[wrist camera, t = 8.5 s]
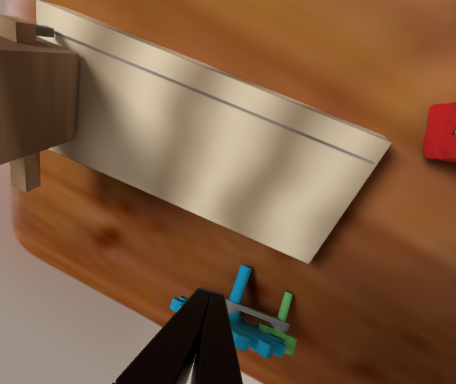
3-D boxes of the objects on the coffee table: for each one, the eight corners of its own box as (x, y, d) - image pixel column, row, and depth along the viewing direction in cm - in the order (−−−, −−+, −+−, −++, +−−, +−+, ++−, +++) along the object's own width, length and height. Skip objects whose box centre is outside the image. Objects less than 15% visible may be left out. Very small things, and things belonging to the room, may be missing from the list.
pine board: (382, 134, 17) (391, 143, 15) (307, 247, 21) (308, 264, 20) (61, 5, 18) (35, -1, 16) (60, 139, 23) (39, 145, 21)
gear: (168, 303, 26) (163, 334, 17) (191, 247, 28) (199, 245, 18) (268, 341, 27) (318, 389, 18) (285, 284, 29) (339, 301, 19)
